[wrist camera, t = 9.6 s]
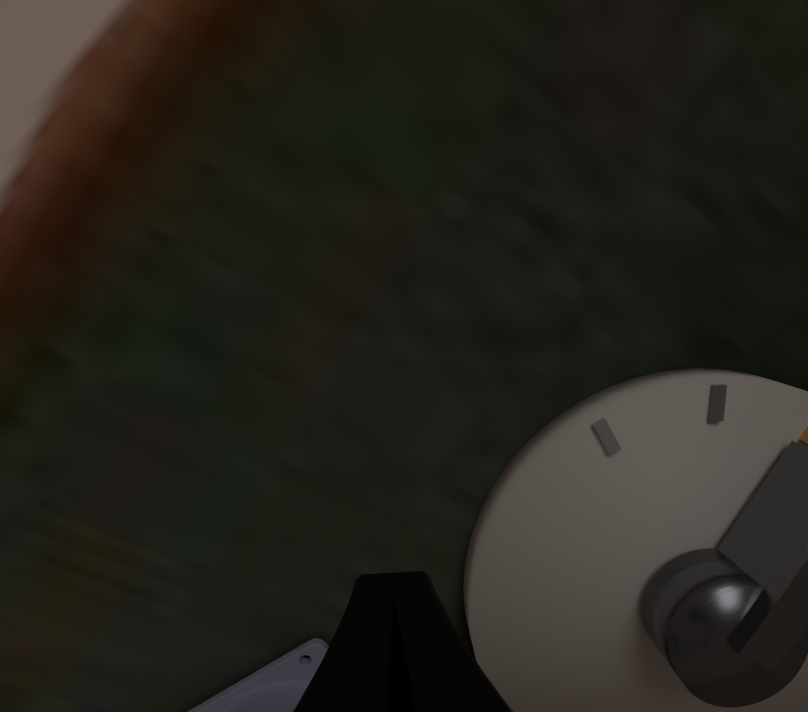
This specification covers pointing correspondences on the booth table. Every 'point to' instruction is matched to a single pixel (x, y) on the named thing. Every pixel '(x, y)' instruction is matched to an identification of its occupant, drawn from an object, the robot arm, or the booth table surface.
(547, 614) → the dial plate
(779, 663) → the dial pointer
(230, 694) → the robot arm
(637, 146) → the booth table surface
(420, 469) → the booth table surface
